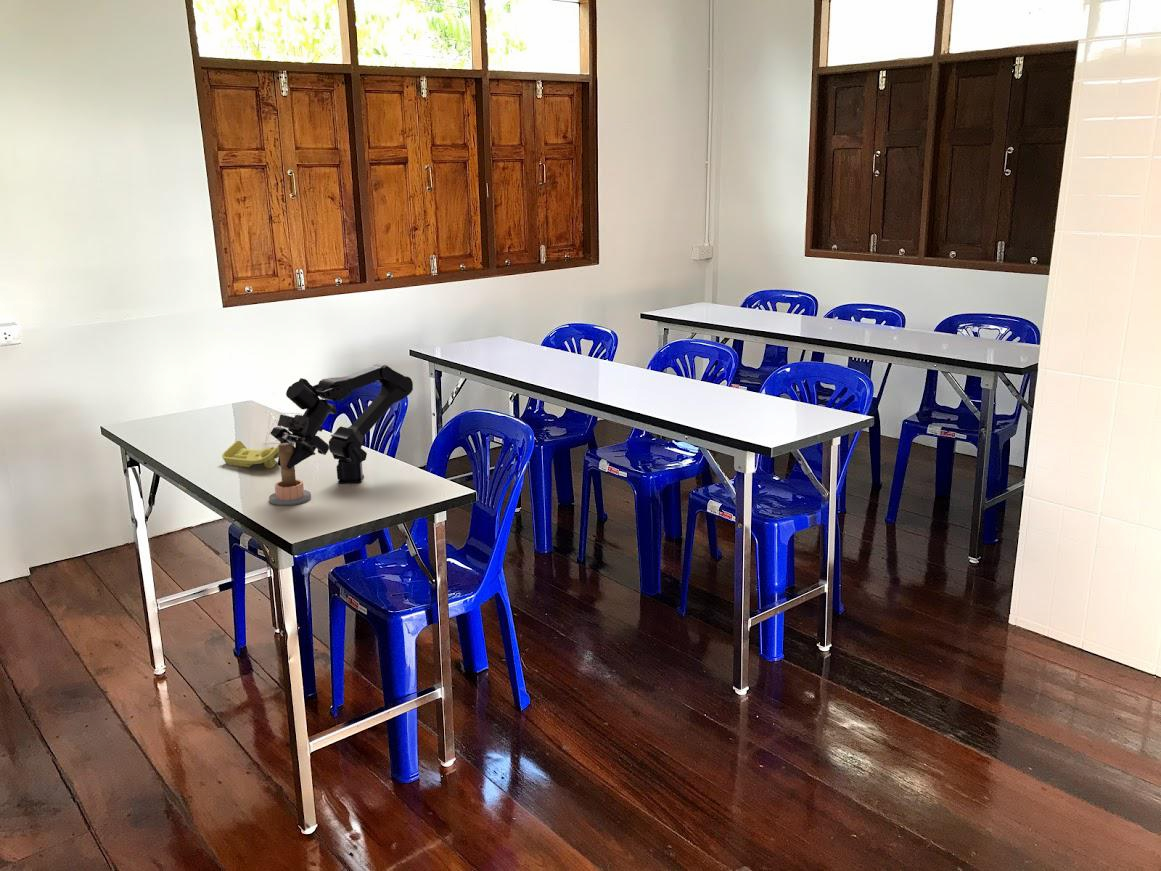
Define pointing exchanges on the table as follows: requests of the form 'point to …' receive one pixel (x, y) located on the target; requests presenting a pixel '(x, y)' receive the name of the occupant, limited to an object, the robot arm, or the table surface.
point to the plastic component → (250, 455)
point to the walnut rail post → (286, 473)
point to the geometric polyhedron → (277, 423)
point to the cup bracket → (289, 494)
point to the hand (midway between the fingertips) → (283, 466)
